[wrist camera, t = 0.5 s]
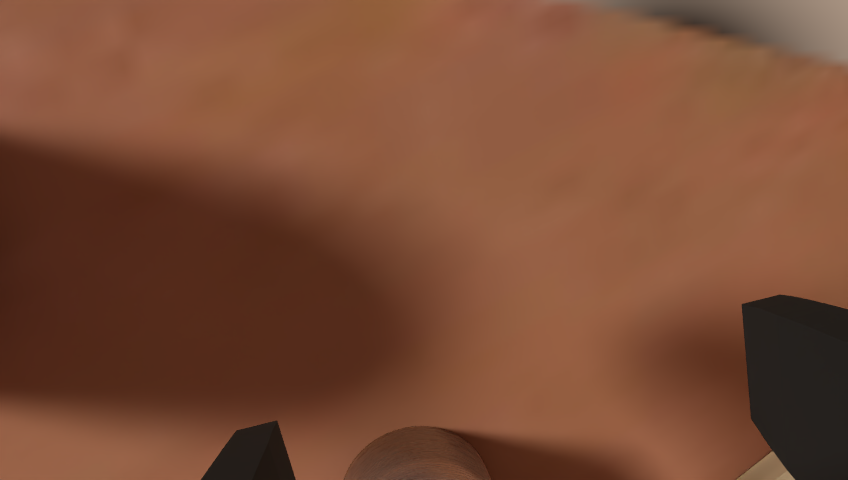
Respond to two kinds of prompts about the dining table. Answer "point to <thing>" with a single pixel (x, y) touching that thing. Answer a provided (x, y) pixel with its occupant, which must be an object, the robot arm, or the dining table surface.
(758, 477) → the press frame
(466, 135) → the dining table surface
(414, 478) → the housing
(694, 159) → the dining table surface
